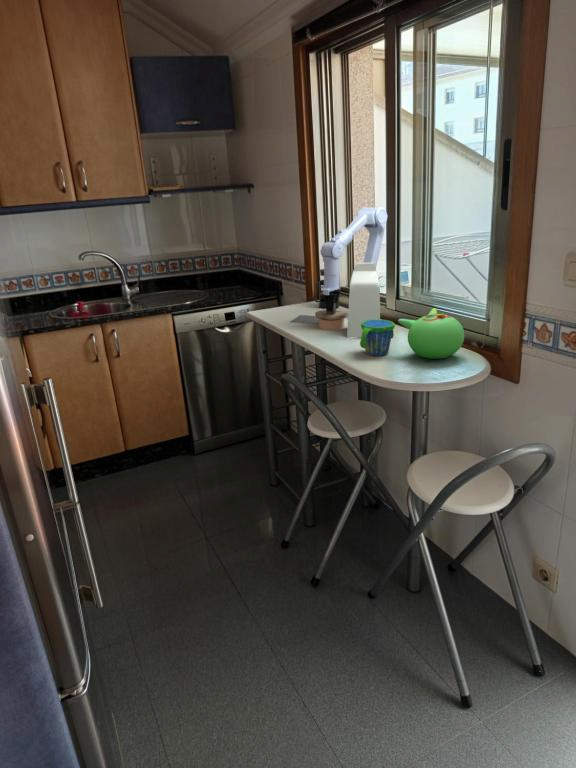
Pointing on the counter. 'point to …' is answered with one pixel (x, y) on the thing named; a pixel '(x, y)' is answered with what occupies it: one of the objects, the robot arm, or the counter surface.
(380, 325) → the snack cup
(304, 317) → the mat
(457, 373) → the counter surface
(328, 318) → the lid
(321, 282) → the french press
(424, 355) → the green teapot
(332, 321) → the bowl
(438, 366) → the counter surface
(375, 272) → the milk
